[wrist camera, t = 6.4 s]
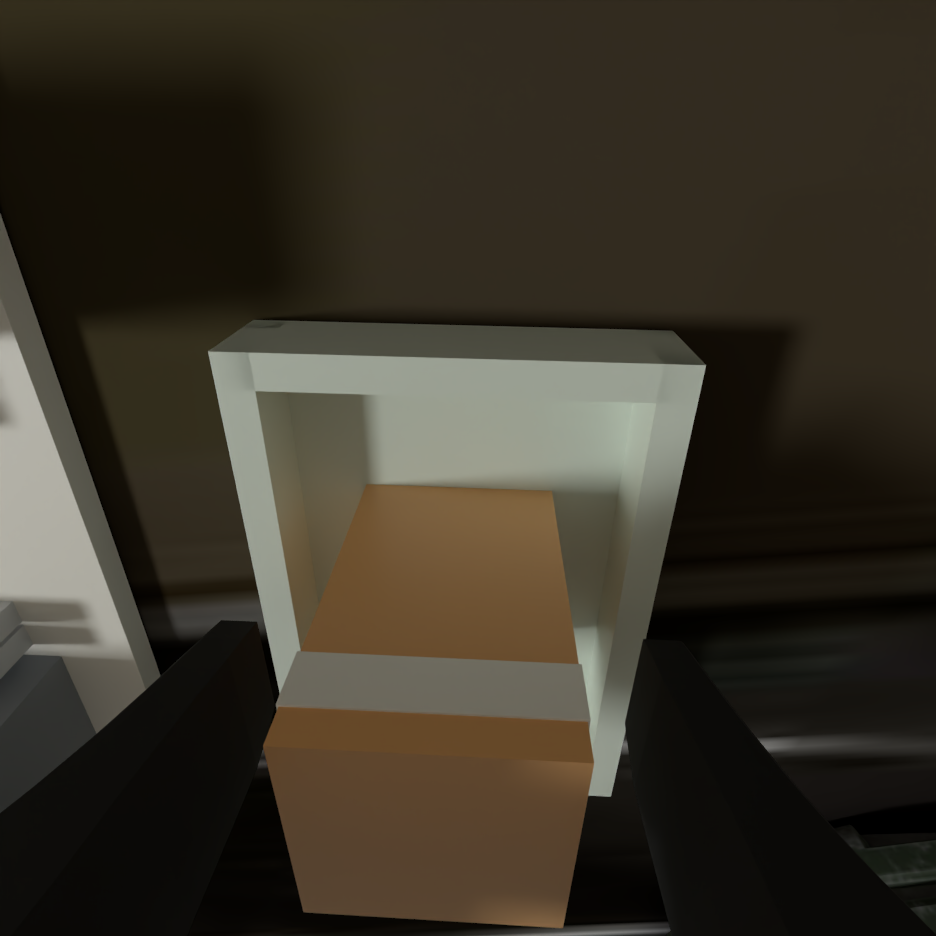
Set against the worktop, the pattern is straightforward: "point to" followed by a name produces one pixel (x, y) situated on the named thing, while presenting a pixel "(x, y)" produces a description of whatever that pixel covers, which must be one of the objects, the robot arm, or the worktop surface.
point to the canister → (900, 866)
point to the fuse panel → (53, 568)
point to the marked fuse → (437, 716)
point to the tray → (465, 461)
